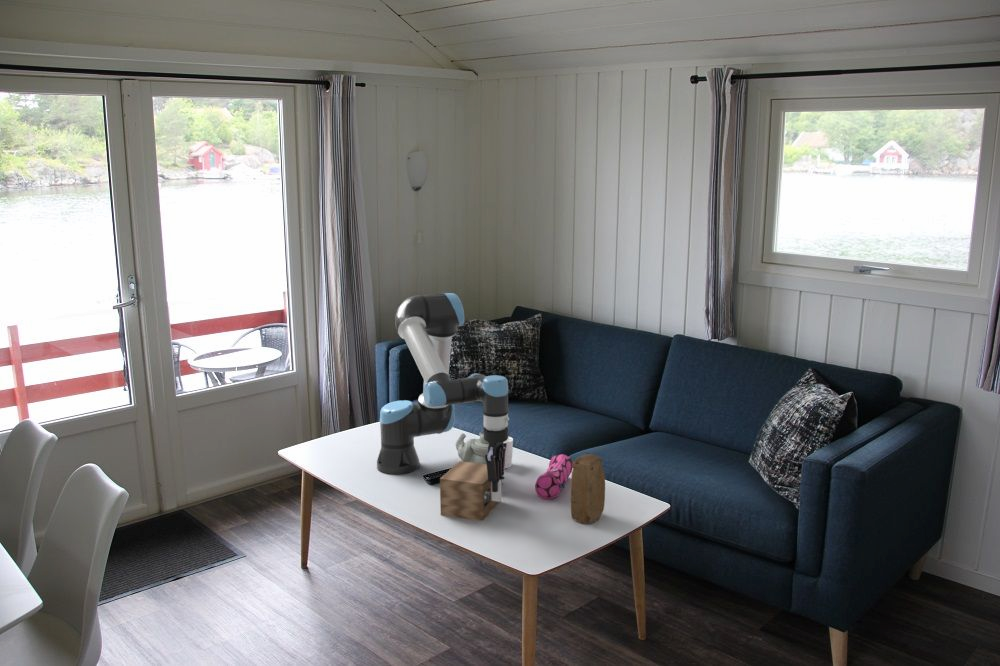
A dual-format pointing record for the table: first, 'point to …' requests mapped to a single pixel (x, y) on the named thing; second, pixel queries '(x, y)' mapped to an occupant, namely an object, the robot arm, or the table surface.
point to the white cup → (508, 452)
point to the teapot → (473, 450)
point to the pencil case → (554, 477)
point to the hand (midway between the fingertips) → (496, 500)
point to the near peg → (486, 497)
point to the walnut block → (466, 491)
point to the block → (587, 489)
